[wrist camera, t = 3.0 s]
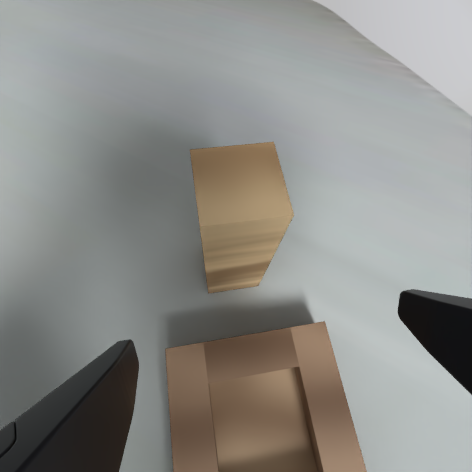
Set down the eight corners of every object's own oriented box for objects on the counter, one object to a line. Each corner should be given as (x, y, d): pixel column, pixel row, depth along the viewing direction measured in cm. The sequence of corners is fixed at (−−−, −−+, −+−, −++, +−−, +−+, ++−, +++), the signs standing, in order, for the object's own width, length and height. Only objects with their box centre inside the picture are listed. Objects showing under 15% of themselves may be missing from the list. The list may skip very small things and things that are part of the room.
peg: (258, 285, 23) (293, 215, 12) (208, 293, 23) (200, 226, 12) (249, 240, 25) (273, 141, 14) (202, 246, 24) (189, 149, 14)
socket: (364, 507, 18) (381, 524, 16) (184, 553, 17) (180, 577, 15) (315, 325, 22) (324, 321, 20) (169, 350, 21) (165, 348, 19)
